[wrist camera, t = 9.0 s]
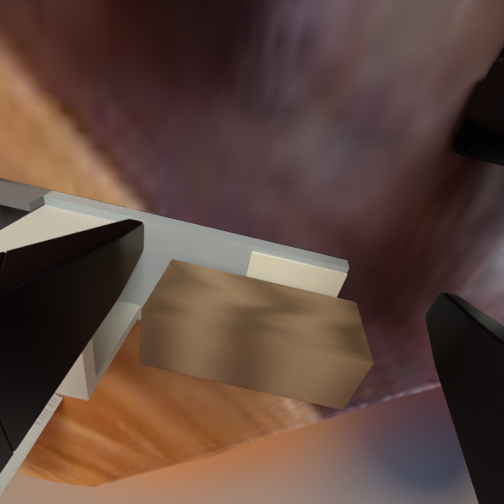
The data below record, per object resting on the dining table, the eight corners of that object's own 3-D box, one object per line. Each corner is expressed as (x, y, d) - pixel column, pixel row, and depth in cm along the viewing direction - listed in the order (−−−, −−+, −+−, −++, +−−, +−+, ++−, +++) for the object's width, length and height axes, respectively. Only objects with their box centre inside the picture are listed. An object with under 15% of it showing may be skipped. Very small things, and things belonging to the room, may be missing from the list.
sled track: (347, 260, 23) (376, 360, 15) (306, 349, 28) (312, 456, 20) (-11, 175, 22) (-170, 234, 14) (17, 282, 27) (-89, 367, 20)
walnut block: (356, 302, 23) (373, 363, 18) (333, 346, 25) (342, 410, 21) (171, 258, 22) (140, 309, 18) (167, 308, 25) (140, 364, 20)
